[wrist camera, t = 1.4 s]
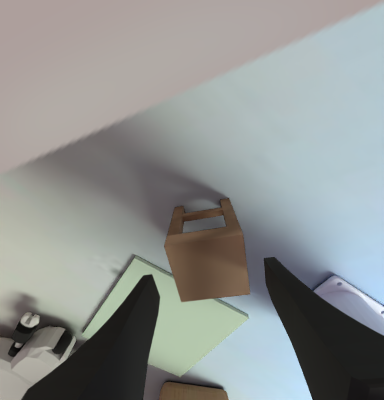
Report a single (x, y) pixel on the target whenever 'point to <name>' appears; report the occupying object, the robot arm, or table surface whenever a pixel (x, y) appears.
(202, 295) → the brown handled box
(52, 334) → the robot toy
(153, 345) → the sage mat
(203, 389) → the wooden block
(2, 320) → the table surface
